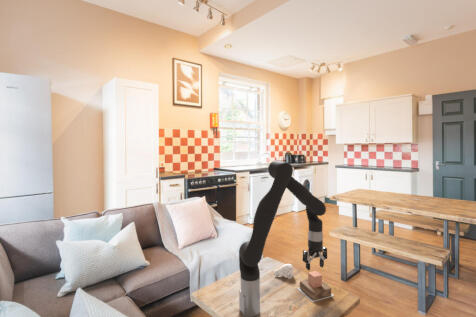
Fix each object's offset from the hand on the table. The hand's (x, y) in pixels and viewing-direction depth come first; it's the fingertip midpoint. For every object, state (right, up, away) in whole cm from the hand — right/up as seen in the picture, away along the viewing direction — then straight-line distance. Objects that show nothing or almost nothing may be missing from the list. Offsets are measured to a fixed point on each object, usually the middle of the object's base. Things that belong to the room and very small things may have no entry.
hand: (314, 268), depth 140 cm
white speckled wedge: (-14, -14, +18) cm, 26 cm away
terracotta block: (0, -9, 0) cm, 9 cm away
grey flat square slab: (0, -14, +1) cm, 14 cm away
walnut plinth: (0, -13, +1) cm, 13 cm away
